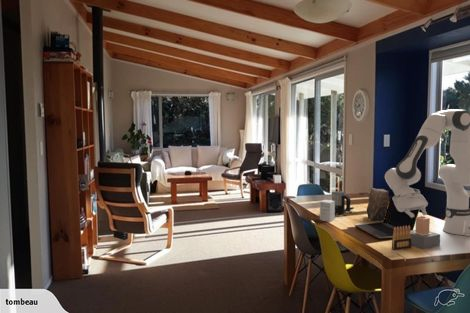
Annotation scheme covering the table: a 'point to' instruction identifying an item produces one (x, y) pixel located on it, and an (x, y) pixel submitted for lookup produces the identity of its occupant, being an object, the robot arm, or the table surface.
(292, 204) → the table surface
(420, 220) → the block
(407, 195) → the robot arm
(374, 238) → the table surface
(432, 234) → the base block
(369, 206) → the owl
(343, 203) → the milk frother
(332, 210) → the supplement box
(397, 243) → the ammunition clip
